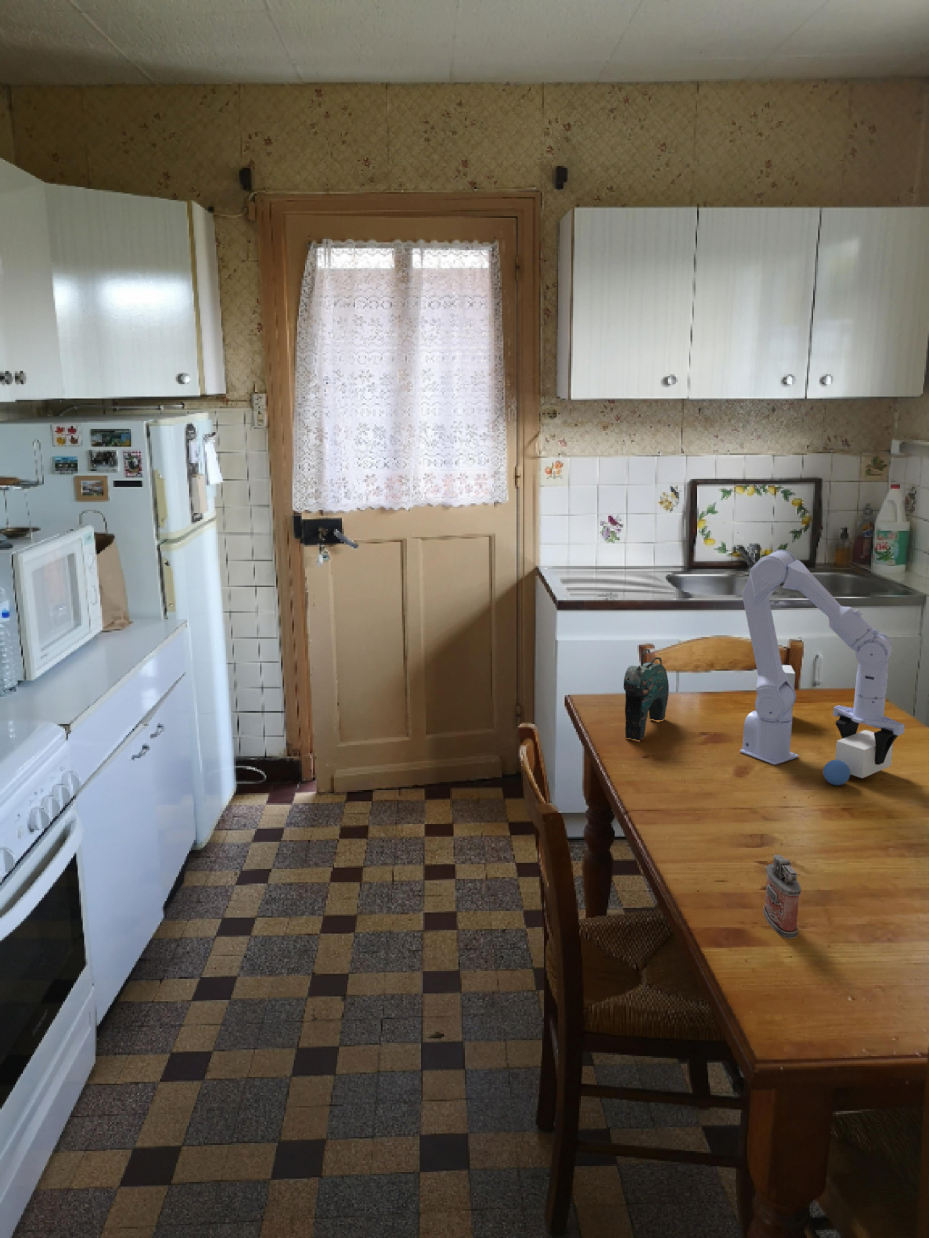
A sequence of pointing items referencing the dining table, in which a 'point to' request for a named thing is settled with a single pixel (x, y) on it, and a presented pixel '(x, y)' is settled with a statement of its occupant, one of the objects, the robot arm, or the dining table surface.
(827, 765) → the ball
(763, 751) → the robot arm
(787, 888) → the lighter
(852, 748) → the white cardboard carton
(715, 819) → the dining table surface
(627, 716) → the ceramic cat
